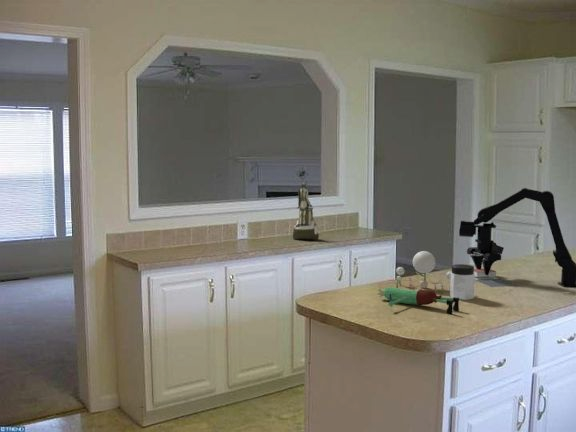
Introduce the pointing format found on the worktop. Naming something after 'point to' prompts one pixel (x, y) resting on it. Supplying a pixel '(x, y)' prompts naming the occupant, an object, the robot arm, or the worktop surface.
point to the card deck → (483, 273)
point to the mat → (493, 281)
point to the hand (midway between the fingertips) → (483, 273)
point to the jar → (462, 282)
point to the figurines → (422, 269)
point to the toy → (417, 297)
